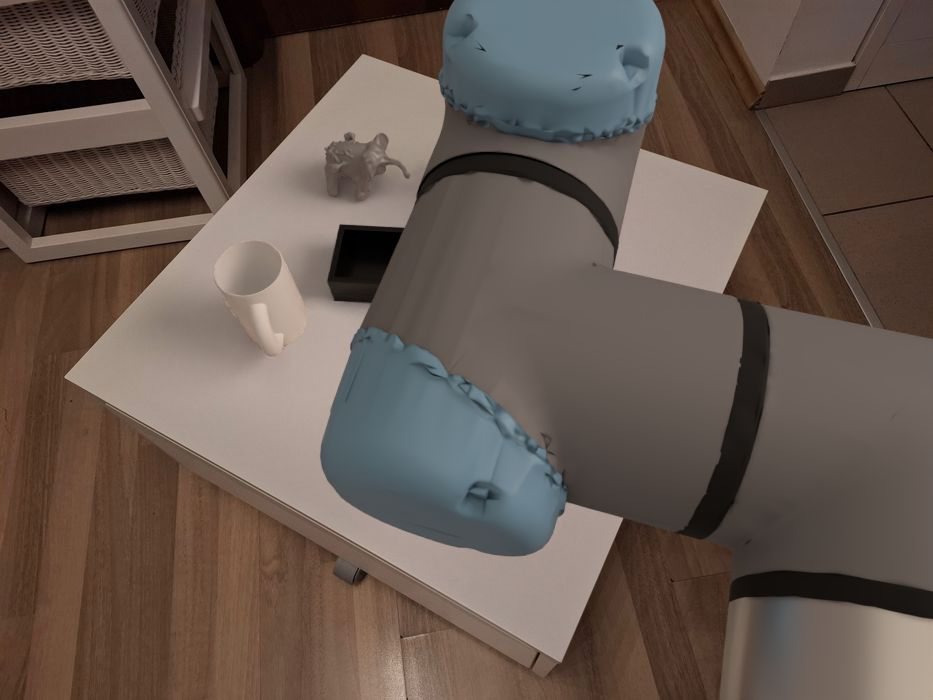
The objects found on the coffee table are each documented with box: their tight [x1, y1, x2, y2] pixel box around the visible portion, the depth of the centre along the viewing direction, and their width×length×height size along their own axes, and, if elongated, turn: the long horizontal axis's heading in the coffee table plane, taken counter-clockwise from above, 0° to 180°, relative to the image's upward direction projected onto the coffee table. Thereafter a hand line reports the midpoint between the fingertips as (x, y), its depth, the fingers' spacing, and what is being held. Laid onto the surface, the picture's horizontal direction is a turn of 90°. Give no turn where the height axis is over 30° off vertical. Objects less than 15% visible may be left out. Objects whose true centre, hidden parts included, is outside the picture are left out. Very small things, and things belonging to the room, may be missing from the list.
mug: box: [213, 239, 309, 357], centre depth 78 cm, size 8×12×12 cm
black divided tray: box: [326, 223, 405, 304], centre depth 85 cm, size 9×17×5 cm, turn 85°
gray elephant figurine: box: [323, 131, 411, 201], centre depth 91 cm, size 9×12×8 cm
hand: (513, 426), depth 55 cm, fingers closed on beverage can, 6 cm apart
